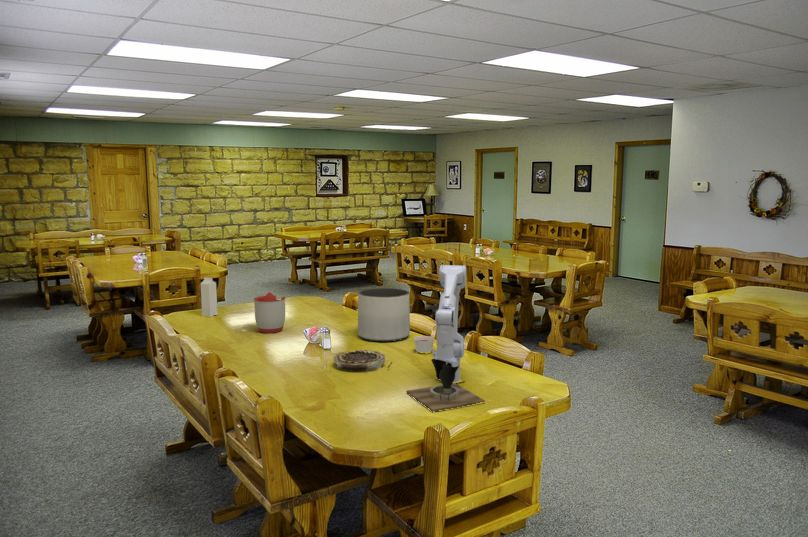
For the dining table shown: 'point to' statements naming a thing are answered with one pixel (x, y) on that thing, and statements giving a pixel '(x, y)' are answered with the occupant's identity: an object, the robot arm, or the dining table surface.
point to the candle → (423, 343)
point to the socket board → (436, 405)
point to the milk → (208, 297)
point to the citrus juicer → (269, 313)
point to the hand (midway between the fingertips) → (444, 381)
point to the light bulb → (446, 387)
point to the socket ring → (444, 397)
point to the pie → (359, 360)
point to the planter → (383, 314)
